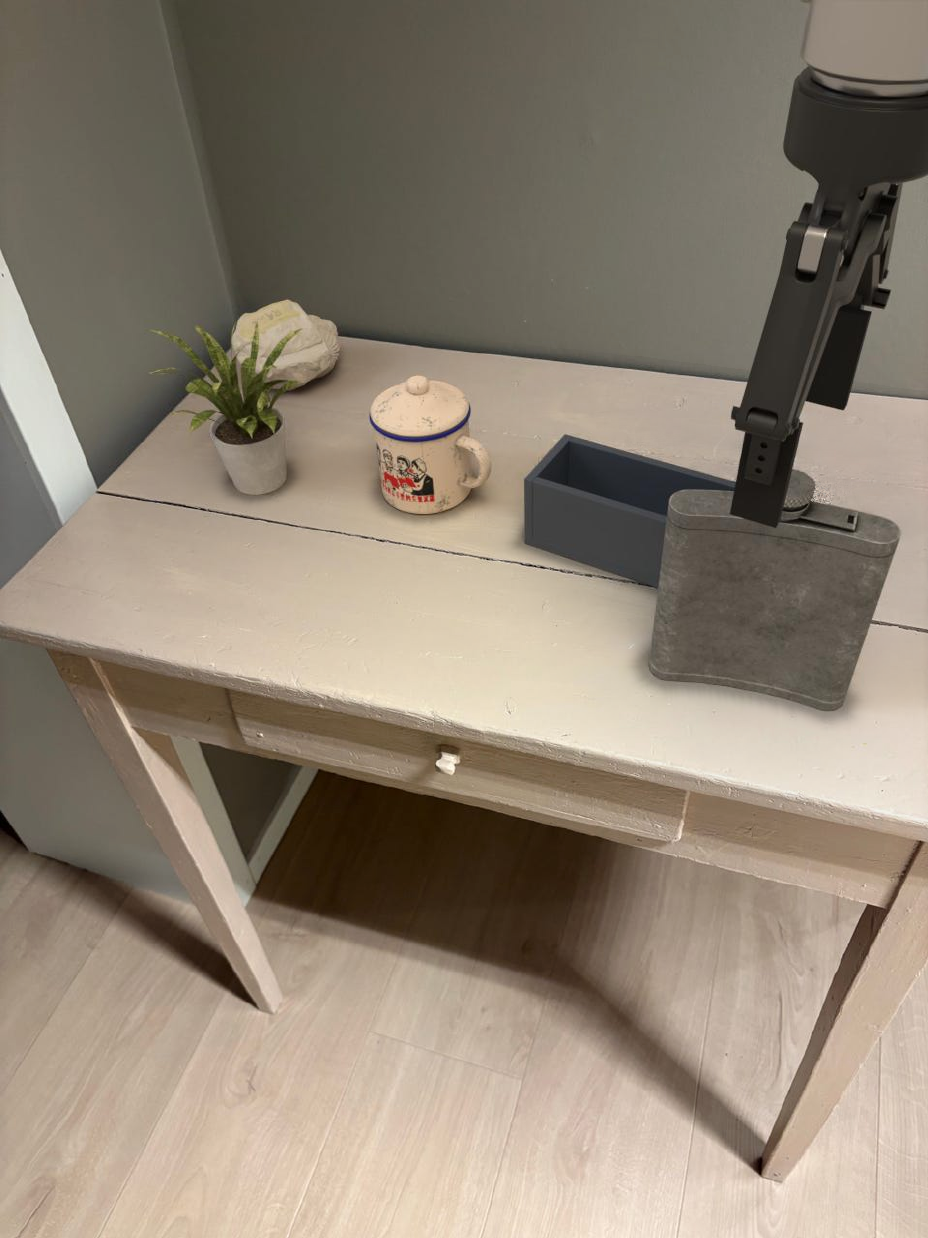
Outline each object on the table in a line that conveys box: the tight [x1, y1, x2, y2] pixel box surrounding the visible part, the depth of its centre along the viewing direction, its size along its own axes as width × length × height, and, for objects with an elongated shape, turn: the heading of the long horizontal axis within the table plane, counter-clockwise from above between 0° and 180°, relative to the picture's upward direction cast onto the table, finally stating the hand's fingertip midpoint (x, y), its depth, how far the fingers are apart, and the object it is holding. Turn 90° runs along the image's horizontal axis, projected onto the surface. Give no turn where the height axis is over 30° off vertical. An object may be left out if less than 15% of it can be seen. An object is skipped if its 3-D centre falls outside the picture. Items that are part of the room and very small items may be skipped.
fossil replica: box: [232, 299, 341, 391], centre depth 105 cm, size 12×8×10 cm
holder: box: [523, 433, 736, 589], centre depth 81 cm, size 18×8×7 cm, turn 59°
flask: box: [648, 468, 902, 712], centre depth 66 cm, size 4×14×18 cm, turn 72°
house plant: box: [148, 320, 304, 496], centre depth 88 cm, size 14×14×16 cm
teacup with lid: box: [369, 375, 492, 515], centre depth 87 cm, size 12×9×12 cm
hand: (791, 456), depth 59 cm, fingers open, 13 cm apart
